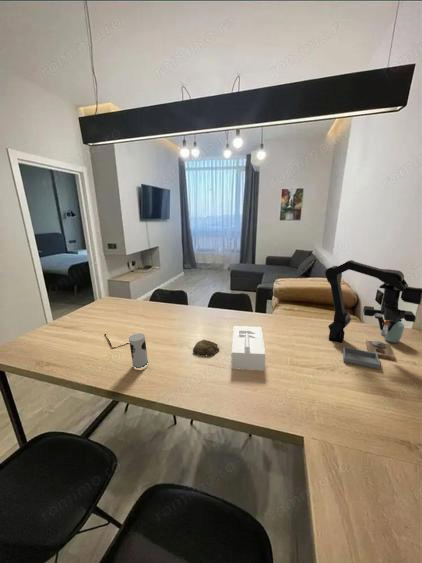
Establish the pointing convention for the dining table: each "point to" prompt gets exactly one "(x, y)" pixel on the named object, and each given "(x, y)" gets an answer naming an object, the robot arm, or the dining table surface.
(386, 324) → the lock pin
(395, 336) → the cup
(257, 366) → the white rectangular block
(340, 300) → the robot arm
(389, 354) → the block
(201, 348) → the dark brown rock
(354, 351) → the tray
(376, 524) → the dining table surface
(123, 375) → the dining table surface
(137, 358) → the grey cylinder
